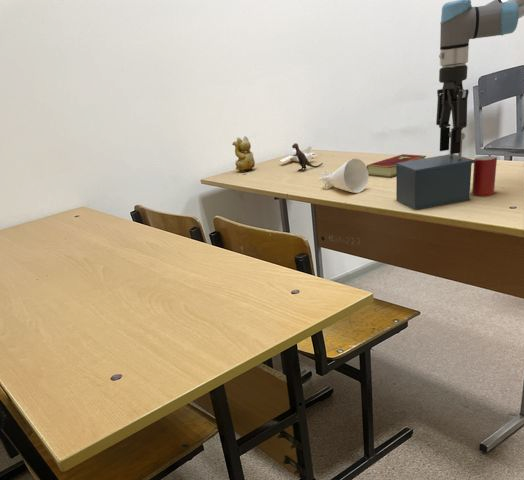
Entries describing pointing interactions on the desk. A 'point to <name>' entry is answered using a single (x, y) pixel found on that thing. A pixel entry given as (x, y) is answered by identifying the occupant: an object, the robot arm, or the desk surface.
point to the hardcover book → (390, 165)
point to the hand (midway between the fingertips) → (449, 151)
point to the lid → (436, 161)
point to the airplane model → (295, 158)
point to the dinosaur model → (302, 158)
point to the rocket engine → (348, 176)
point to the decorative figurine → (243, 155)
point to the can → (484, 175)
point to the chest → (433, 186)
